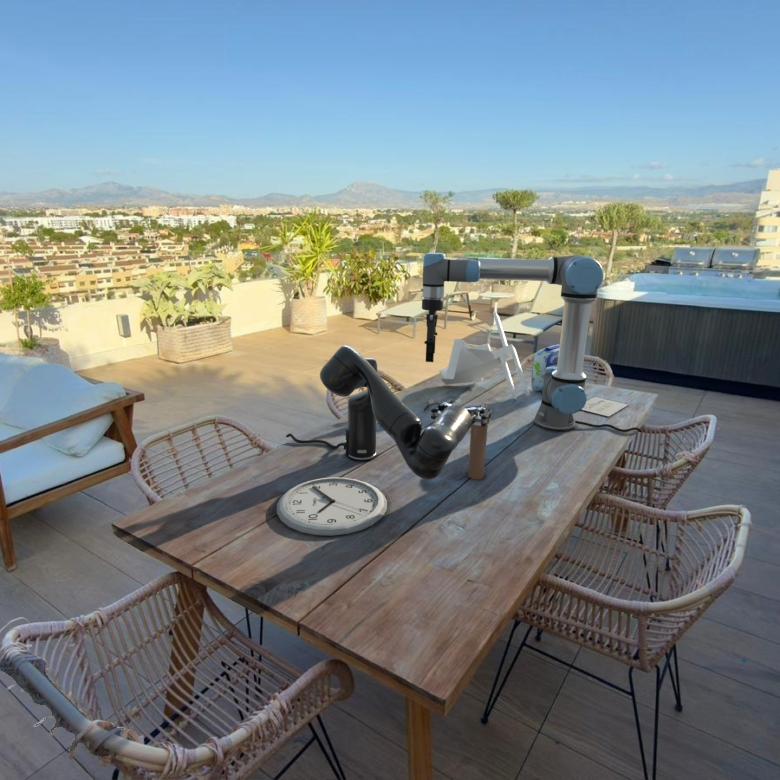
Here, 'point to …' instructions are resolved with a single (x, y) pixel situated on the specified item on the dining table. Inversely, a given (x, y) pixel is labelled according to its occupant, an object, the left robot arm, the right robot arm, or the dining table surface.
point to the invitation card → (603, 406)
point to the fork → (430, 403)
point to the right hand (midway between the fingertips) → (430, 357)
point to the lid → (478, 422)
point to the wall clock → (331, 506)
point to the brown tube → (477, 451)
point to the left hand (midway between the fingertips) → (467, 405)
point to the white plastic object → (482, 362)
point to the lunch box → (543, 365)
